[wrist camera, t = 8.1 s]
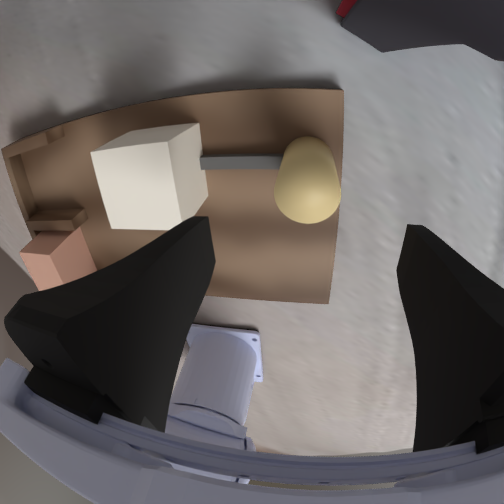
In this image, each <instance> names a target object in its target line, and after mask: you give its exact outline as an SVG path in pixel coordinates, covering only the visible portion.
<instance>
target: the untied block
mask: <svg viewBox="0 0 504 504" xmlns="http://www.w3.org/2000/svg"><path fill="white" fill-rule="evenodd" d="M19 253H20V255H21V257H22V259H23V261H24V263H25V265H26V267H27V269H28V271H29V273H30V275H31V277H32V278H33V280H34V282H35V284H36V286H37V287H38V289H39V291H42V290H46V289H50V288H53V287H56V286H59V285H62V284H65V283H68V282H71V281H74V280H77V279H79V278H82V277H84V276H87V275H89V274H91V273H93V272H96V271H97V268H96V266H95V264H94V261H93V259H92V256H91V254H90V252H89V249H88V247H87V244H86V242H85V239H84V236H83V234H82V231H81V228H80V227H79V228H77V229H76V230H75V231H41V232H40V233H39V234H38V235H37V236H36V237H35V238H34V239H33V240H31V241H30V242H29V243H28V244H27V245H26V246H25V247H24V248H23V249H22V250H21V251H20V252H19Z"/></svg>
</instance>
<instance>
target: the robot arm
mask: <svg viewBox="0 0 504 504" xmlns="http://www.w3.org/2000/svg"><path fill="white" fill-rule="evenodd" d="M215 263H216V259H215V253H214V247H213V242H212V236H211V230H210V224H209V217H208V216H192V217H190V218H188V219H186V220H185V221H183V222H181V223H180V224H178V225H176V226H175V227H173V228H172V229H170V230H168V231H167V232H165V233H164V234H162V235H161V236H159V237H158V238H156V239H155V240H153V241H151V242H150V243H148V244H146V245H145V246H143V247H141V248H140V249H138V250H137V251H135V252H133V253H132V254H130V255H128V256H126V257H124V258H123V259H121V260H119V261H117V262H115V263H113V264H111V265H109V266H107V267H105V268H103V269H100V270H98V271H96V272H93V273H91V274H89V275H87V276H84V277H82V278H79V279H77V280H74V281H71V282H68V283H65V284H62V285H59V286H56V287H53V288H50V289H46V290H42V291H39V292H34V293H31V294H26V295H24V296H23V297H21V298H20V299H19V300H18V302H17V303H16V304H15V305H14V307H13V308H12V309H11V310H10V311H9V313H8V314H7V315H6V316H5V319H4V324H5V328H6V330H7V332H8V334H9V336H10V337H11V338H12V340H13V341H14V343H15V344H16V345H17V346H18V347H19V349H20V350H21V351H22V352H23V354H24V355H25V356H26V357H27V359H28V360H29V361H30V362H31V363H32V364H33V365H34V367H33V368H32V370H31V371H30V372H29V371H28V370H27V369H26V368H24V367H23V366H21V365H20V364H18V363H16V362H14V361H12V360H11V359H9V358H6V359H5V361H4V362H3V364H2V365H1V367H0V432H1V433H2V434H3V435H4V436H5V437H6V438H7V439H8V440H9V441H11V442H12V443H13V444H14V445H15V446H16V447H17V448H18V449H19V450H21V451H22V452H23V453H24V454H25V455H26V456H28V457H29V458H30V459H31V460H32V461H34V462H35V463H36V464H38V465H39V466H40V467H41V468H42V469H44V470H45V471H46V472H48V473H49V474H50V475H52V476H53V477H54V478H56V479H57V480H59V481H60V482H61V483H63V484H64V485H66V486H67V487H69V488H70V489H72V490H73V491H75V492H76V493H78V494H80V495H81V496H83V497H84V498H86V499H88V500H89V501H91V502H93V503H95V504H504V289H503V288H502V287H501V286H499V285H498V284H496V283H495V282H494V281H492V280H491V279H489V278H488V277H487V276H485V275H484V274H483V273H481V272H480V271H479V270H478V269H476V268H475V267H474V266H473V265H471V264H470V263H469V262H468V261H467V260H465V259H464V258H463V257H462V256H461V255H459V254H458V253H457V252H456V251H455V250H453V249H452V248H451V247H450V246H449V245H448V244H446V243H445V242H444V241H443V240H442V239H440V238H439V237H438V236H437V235H435V234H434V233H433V232H432V231H430V230H429V229H427V228H426V227H424V226H423V225H411V224H407V228H406V233H405V237H404V242H403V246H402V250H401V254H400V258H399V262H398V266H397V270H396V271H397V278H398V284H399V291H400V296H401V299H402V303H403V307H404V311H405V314H406V318H407V322H408V326H409V330H410V334H411V338H412V343H413V348H414V354H415V366H416V382H417V412H416V428H415V438H414V446H413V452H411V453H403V454H392V455H380V456H364V457H363V456H361V457H315V456H296V455H283V454H273V453H264V452H256V448H255V445H254V444H253V441H252V439H251V438H250V437H246V431H247V427H244V426H243V425H244V423H245V421H246V417H247V413H248V408H249V404H250V399H251V394H252V390H253V385H254V381H255V382H262V381H263V367H262V355H261V342H260V334H259V332H257V331H252V330H242V329H232V328H223V327H214V326H206V325H198V324H192V323H193V321H194V318H195V316H196V314H197V312H198V309H199V307H200V305H201V303H202V300H203V298H204V296H205V294H206V291H207V289H208V287H209V284H210V281H211V278H212V274H213V271H214V267H215ZM186 340H187V342H188V345H189V348H190V349H189V351H188V354H187V357H186V359H185V362H184V364H183V367H182V369H181V372H180V375H179V377H178V380H177V382H176V385H175V388H174V390H173V385H174V381H175V377H176V373H177V369H178V365H179V361H180V358H181V354H182V351H183V347H184V344H185V341H186ZM172 390H173V393H172ZM171 394H172V396H171ZM250 479H251V480H257V481H265V482H275V483H286V484H301V485H362V484H378V483H388V482H397V481H400V482H397V483H396V484H395V485H394V487H392V488H381V489H363V490H336V491H335V490H327V491H326V490H298V489H284V488H273V487H264V486H257V485H249V484H248V482H249V480H250Z"/></svg>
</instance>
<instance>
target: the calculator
mask: <svg viewBox="0 0 504 504" xmlns="http://www.w3.org/2000/svg"><path fill="white" fill-rule="evenodd" d="M336 14H338V15H340V16H342V17H343V18H344V19H343V20H342V22H341V26H342V27H343V28H345V29H347V30H348V31H350V32H351V33H353V34H355V35H356V36H358V37H359V38H361V39H363V40H364V41H366V42H367V43H369V44H370V45H372V46H373V47H374V48H376V49H377V50H379V51H380V52H389V51H395V50H402V49H409V48H417V47H426V46H437V45H450V44H465V45H467V46H469V47H471V48H473V49H475V50H477V51H479V52H481V53H483V54H485V55H487V56H488V57H490V58H492V59H494V60H497V61H504V0H342V1H341V3H340V5H339V7H338V9H337V11H336Z"/></svg>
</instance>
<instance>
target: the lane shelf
mask: <svg viewBox="0 0 504 504" xmlns="http://www.w3.org/2000/svg"><path fill="white" fill-rule="evenodd" d="M189 123H199V126H200V134H201V143H202V151H203V155H212V154H284V152H285V150H286V148H287V146H288V145H289V144H290V143H291V142H292V141H294V140H295V139H297V138H300V137H305V136H310V137H315V138H318V139H320V140H322V141H323V142H325V143H326V144H327V145H328V146H329V148H330V149H331V152H332V154H333V158H334V162H335V166H336V171H337V175H338V179H339V184H340V189H341V177H342V157H343V126H344V91H343V90H342V89H324V88H262V89H243V90H229V91H218V92H209V93H200V94H192V95H185V96H178V97H172V98H165V99H160V100H154V101H149V102H144V103H139V104H134V105H129V106H125V107H120V108H116V109H112V110H108V111H104V112H100V113H97V114H93V115H89V116H86V117H82V118H79V119H76V120H72V121H69V122H66V123H63V124H60V125H57V126H54V127H51V128H48V129H46V130H43V131H40V132H37V133H35V134H32V135H29V136H27V137H24V138H22V139H19V140H17V141H15V142H14V143H12V144H10V145H8V146H6V147H4V148H2V149H1V150H2V154H3V158H4V161H5V165H6V168H7V172H8V175H9V178H10V181H11V184H12V187H13V190H14V193H15V196H16V199H17V202H18V204H19V207H20V210H21V212H22V215H23V218H24V220H25V223H26V225H27V227H28V230H29V232H30V235H31V237H32V239H34V238H35V237H36V236H37V235H38V234H39V233H40V232H41V231H75V230H76V229H77V228H79V227H80V228H81V231H82V234H83V236H84V239H85V242H86V244H87V247H88V249H89V252H90V254H91V256H92V259H93V261H94V264H95V266H96V268H97V271H98V270H100V269H103V268H105V267H107V266H109V265H111V264H113V263H115V262H117V261H119V260H121V259H123V258H124V257H126V256H128V255H130V254H132V253H133V252H135V251H137V250H138V249H140V248H141V247H143V246H145V245H146V244H148V243H150V242H151V241H153V240H155V239H156V238H158V237H159V236H161V235H162V234H164V233H165V232H167V231H168V230H138V229H112V228H111V225H110V222H109V219H108V216H107V213H106V209H105V206H104V203H103V199H102V196H101V192H100V189H99V185H98V181H97V177H96V174H95V170H94V166H93V162H92V157H91V153H90V152H92V151H93V150H95V149H97V148H99V147H101V146H102V145H104V144H106V143H108V142H110V141H112V140H114V139H116V138H118V137H120V136H122V135H124V134H126V133H128V132H130V131H134V130H141V129H147V128H155V127H162V126H171V125H180V124H189ZM278 173H279V170H277V169H217V170H205V174H206V182H207V189H208V197H207V198H206V200H205V201H204V203H203V204H202V205H201V207H200V208H199V210H198V211H197V212H196V214H195V215H194V216H208V217H209V224H210V230H211V236H212V242H213V247H214V253H215V259H216V263H215V267H214V271H213V274H212V278H211V281H210V284H209V287H208V289H207V291H206V294H205V295H206V296H217V297H228V298H240V299H253V300H267V301H282V302H298V303H316V304H329V297H330V290H331V282H332V275H333V266H334V258H335V249H336V239H337V229H338V218H339V206H340V203H339V205H338V208H337V209H336V211H335V212H334V213H333V214H332V215H331V216H330V217H328V218H327V219H325V220H323V221H321V222H318V223H312V224H305V223H299V222H296V221H293V220H291V219H290V218H288V217H287V216H285V215H284V214H283V213H282V212H281V211H280V209H279V208H278V206H277V204H276V202H275V198H274V187H275V183H276V180H277V176H278Z"/></svg>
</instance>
